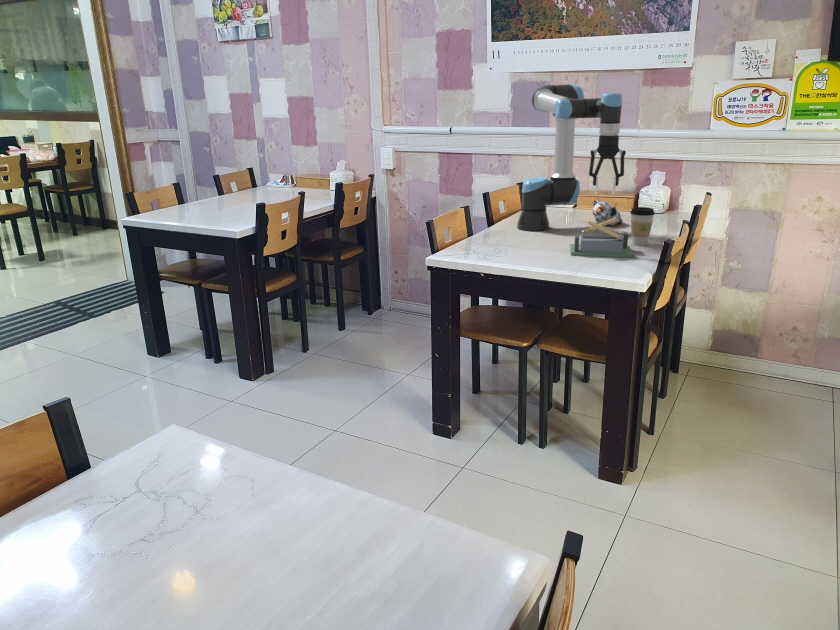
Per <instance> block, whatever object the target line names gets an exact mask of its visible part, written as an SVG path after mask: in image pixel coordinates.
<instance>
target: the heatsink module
mask: <svg viewBox="0 0 840 630" xmlns="http://www.w3.org/2000/svg"><path fill="white" fill-rule="evenodd" d="M617 234H618V235H622V237H623V240H622V241H620V240H619V239H618V238H616V237H614V236H612V235H609V234H607V233H593V232H592V233H590V232H588V233H583V235H582V232H581V233H580V235H575V236H574V243H570V244H569V245H570V246H569V248H570V256H581V257H585V256H586V257H616V258H618V257H619V258H633V257H634V252H633V250H632V249H631V245H628V243H629V242H628V241H629V233H628V232H627V231H625V232H623V234H620V233H617Z"/></svg>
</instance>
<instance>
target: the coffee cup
mask: <svg viewBox="0 0 840 630" xmlns="http://www.w3.org/2000/svg"><path fill="white" fill-rule="evenodd" d="M629 213H630V215H631V219H630V230H631V231H630V233H631V244H632V245H634V246H647V245H648V243H649V242H648V241H649V237H650V235H651V230H652V225H653V220H654V215H655V213H656V212H655V210H654V208H653V207H647V206H646V207H645V206H635V207H633V208H632V209H631V210H630V212H629Z"/></svg>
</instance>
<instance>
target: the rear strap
mask: <svg viewBox="0 0 840 630" xmlns="http://www.w3.org/2000/svg"><path fill="white" fill-rule="evenodd" d="M615 221H617V218H616V217H614V218H612V219H609V220H607V221H605V222H602V223H600V224H597V225H600V226H602V227H604V226H605V227H606V226H609V225H608V224H610V223H612V222H615ZM595 230H598V229H597V228H595V227H593V226H590V227H587V228H586V229H585V228H584V229H582V230H581V233H582V235H583V233H590V232H593V231H595Z"/></svg>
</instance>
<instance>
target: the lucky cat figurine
mask: <svg viewBox="0 0 840 630" xmlns="http://www.w3.org/2000/svg"><path fill="white" fill-rule="evenodd" d="M592 204H593V206H592V207H593V208H592V215H593V217H594V218H595V224H600V223H602V222H605V221H607V220H609V219H612V218H614V217H616V218H617V221H615V222H612V223H610V224H608V225H607V226H613V227H619V226H618V225H620V226H621V225H622V224H624V221H623V219H622V216H621V213H620V211H619V210H618V209H617V206H616V205H613V206H612V207H611V205H610V204H609V203H608V202H607V201H602V200H601V201H600V200H599V199H597V200H593V203H592Z"/></svg>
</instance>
